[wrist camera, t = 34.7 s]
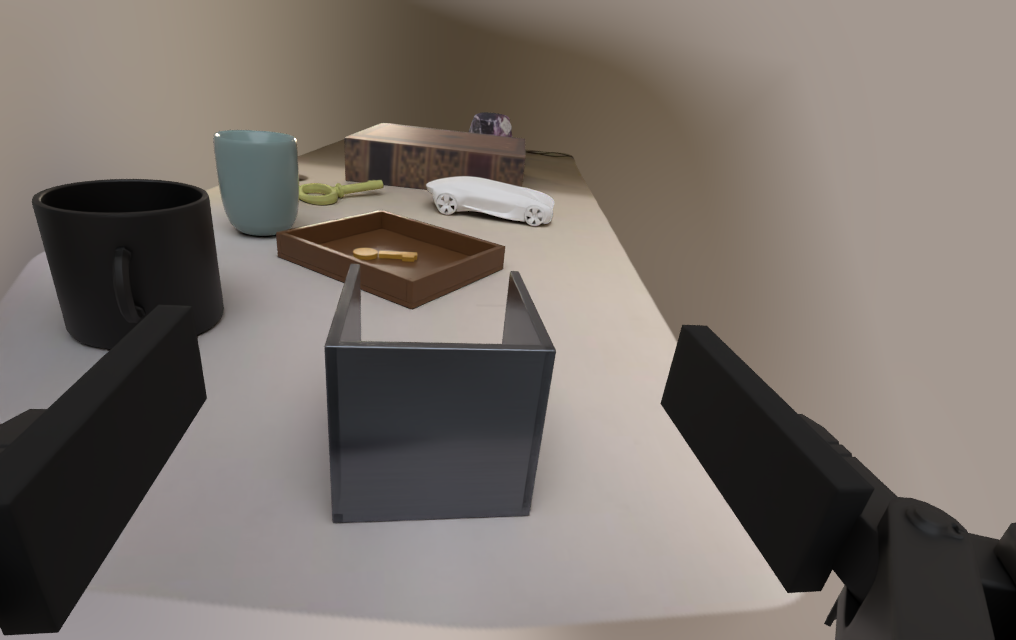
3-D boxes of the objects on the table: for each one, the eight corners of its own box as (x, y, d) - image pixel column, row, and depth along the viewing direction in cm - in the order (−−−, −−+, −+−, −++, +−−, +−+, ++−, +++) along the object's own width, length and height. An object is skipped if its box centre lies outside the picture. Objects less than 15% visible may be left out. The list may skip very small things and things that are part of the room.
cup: (228, 220, 61) (217, 128, 57) (301, 221, 64) (296, 132, 59) (220, 242, 54) (207, 139, 50) (302, 242, 57) (296, 144, 53)
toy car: (552, 214, 79) (556, 183, 77) (551, 228, 72) (555, 195, 70) (432, 199, 80) (434, 168, 78) (419, 211, 73) (420, 178, 71)
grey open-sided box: (529, 515, 26) (556, 350, 22) (332, 523, 24) (324, 346, 20) (502, 406, 34) (518, 271, 30) (353, 406, 32) (350, 263, 28)
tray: (277, 256, 53) (275, 231, 51) (381, 230, 64) (381, 209, 63) (411, 309, 45) (412, 281, 44) (503, 269, 56) (505, 246, 55)
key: (387, 195, 79) (387, 180, 79) (318, 207, 70) (317, 191, 69) (353, 185, 83) (352, 171, 82) (283, 196, 73) (282, 180, 72)
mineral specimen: (483, 152, 115) (477, 104, 114) (464, 163, 124) (458, 119, 123) (523, 152, 119) (517, 106, 118) (501, 163, 129) (496, 120, 128)
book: (520, 199, 86) (525, 157, 83) (345, 180, 86) (344, 137, 83) (521, 172, 108) (524, 138, 105) (382, 157, 108) (382, 122, 105)
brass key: (354, 246, 54) (354, 251, 55) (351, 254, 52) (351, 259, 53) (417, 249, 56) (416, 254, 56) (417, 257, 54) (417, 262, 54)
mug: (40, 382, 31) (-8, 229, 27) (83, 299, 40) (52, 177, 37) (225, 360, 35) (206, 225, 31) (224, 289, 44) (209, 179, 41)
